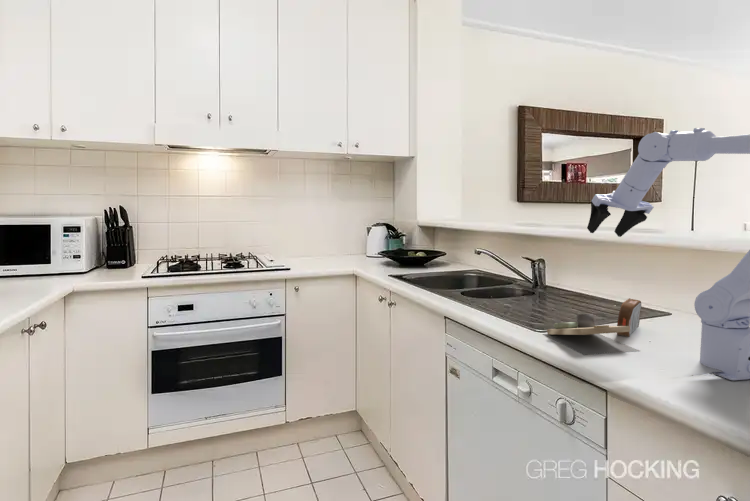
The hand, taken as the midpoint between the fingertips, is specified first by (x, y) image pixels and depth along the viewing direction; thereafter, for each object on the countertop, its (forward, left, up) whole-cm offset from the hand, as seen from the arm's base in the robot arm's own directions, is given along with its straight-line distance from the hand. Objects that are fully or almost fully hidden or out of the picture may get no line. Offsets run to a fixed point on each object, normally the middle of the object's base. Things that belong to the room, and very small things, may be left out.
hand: (603, 232), depth 111 cm
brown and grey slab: (-2, -6, -25) cm, 26 cm away
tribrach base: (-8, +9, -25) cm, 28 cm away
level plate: (-8, +9, -22) cm, 25 cm away
